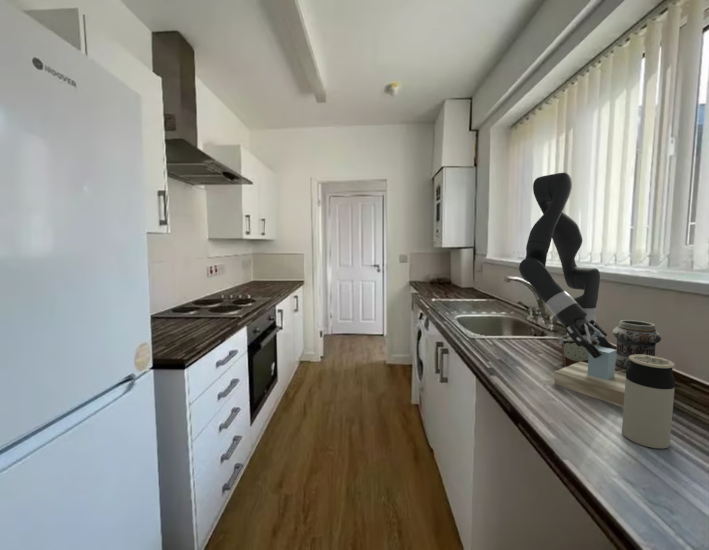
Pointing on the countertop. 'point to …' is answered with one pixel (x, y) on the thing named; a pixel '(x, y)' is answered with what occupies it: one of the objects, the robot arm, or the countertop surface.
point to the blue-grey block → (602, 363)
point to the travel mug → (648, 401)
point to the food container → (574, 351)
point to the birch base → (592, 383)
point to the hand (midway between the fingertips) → (605, 354)
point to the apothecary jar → (634, 341)
